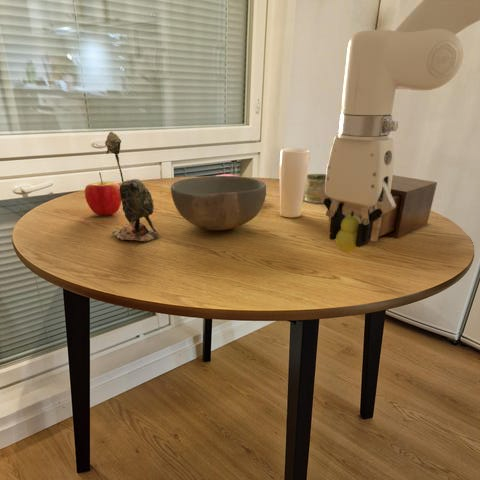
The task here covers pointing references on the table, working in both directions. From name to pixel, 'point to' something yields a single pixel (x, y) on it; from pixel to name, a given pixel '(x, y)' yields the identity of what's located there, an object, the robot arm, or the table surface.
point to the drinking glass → (293, 180)
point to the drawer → (381, 224)
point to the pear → (348, 234)
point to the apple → (103, 197)
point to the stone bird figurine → (132, 201)
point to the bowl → (218, 200)
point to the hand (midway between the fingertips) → (348, 240)
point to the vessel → (314, 187)
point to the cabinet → (412, 203)
